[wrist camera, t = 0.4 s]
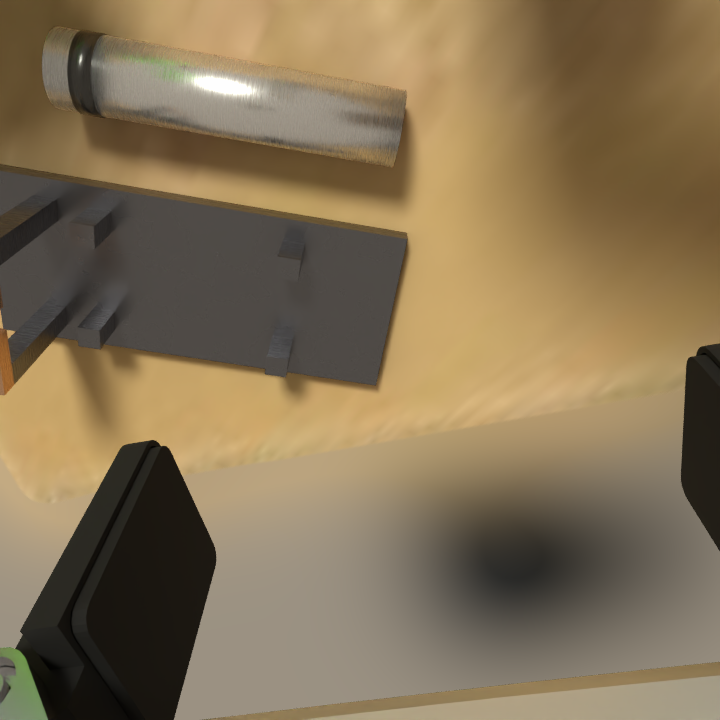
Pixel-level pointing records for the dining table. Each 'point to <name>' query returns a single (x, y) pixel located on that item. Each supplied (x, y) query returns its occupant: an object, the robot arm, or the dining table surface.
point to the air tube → (222, 96)
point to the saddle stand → (189, 279)
